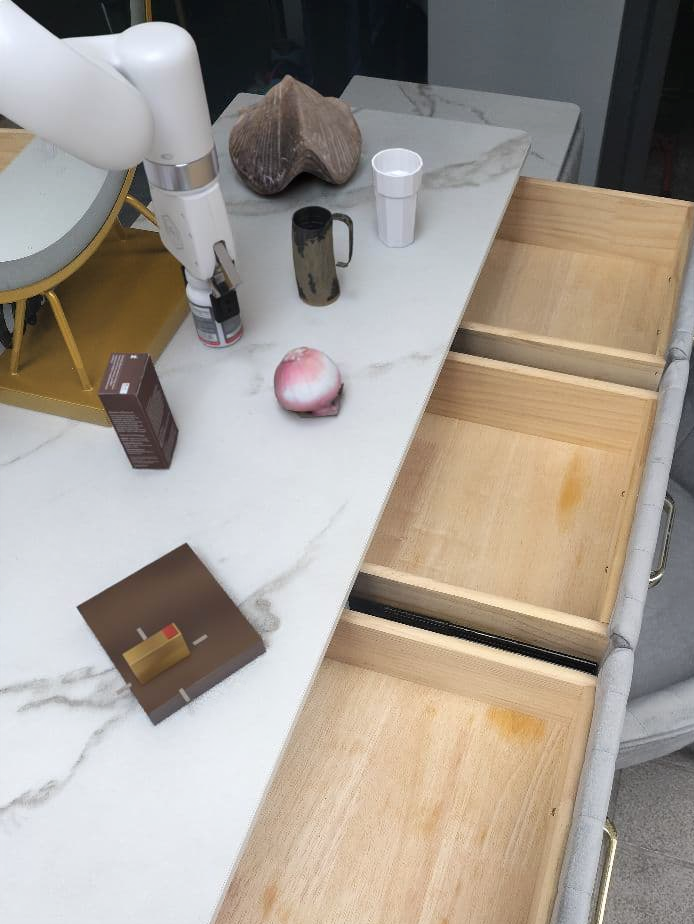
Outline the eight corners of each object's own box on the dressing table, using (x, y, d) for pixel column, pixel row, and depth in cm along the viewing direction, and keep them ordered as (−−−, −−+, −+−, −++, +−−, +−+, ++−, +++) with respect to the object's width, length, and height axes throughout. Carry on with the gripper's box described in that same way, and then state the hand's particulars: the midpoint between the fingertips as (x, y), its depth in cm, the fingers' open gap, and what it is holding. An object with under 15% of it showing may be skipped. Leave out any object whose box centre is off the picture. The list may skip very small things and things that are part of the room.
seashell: (213, 99, 119) (268, 41, 108) (305, 126, 130) (364, 76, 119) (230, 205, 119) (287, 158, 108) (321, 223, 130) (382, 181, 119)
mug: (290, 301, 107) (280, 219, 97) (306, 275, 110) (297, 193, 100) (348, 313, 105) (343, 231, 95) (361, 287, 108) (358, 205, 98)
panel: (73, 625, 79) (64, 612, 77) (191, 555, 84) (185, 540, 82) (149, 742, 72) (141, 731, 70) (272, 659, 77) (269, 646, 75)
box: (140, 430, 94) (109, 350, 84) (179, 431, 93) (153, 351, 84) (128, 470, 90) (94, 392, 80) (168, 472, 90) (140, 394, 80)
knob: (141, 685, 73) (129, 664, 69) (134, 674, 73) (121, 652, 70) (191, 654, 75) (180, 632, 71) (183, 643, 75) (172, 621, 72)
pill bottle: (237, 314, 105) (224, 248, 97) (248, 343, 102) (235, 277, 94) (193, 324, 104) (176, 258, 96) (203, 353, 101) (186, 288, 93)
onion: (317, 370, 99) (312, 324, 93) (358, 405, 96) (355, 359, 90) (264, 401, 96) (255, 355, 90) (304, 438, 93) (297, 393, 87)
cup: (413, 219, 117) (414, 145, 108) (426, 246, 113) (428, 172, 104) (368, 226, 116) (366, 152, 107) (380, 254, 112) (378, 180, 103)
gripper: (109, 138, 87) (151, 280, 101) (192, 214, 79) (224, 355, 94) (171, 116, 89) (204, 256, 104) (257, 187, 82) (279, 328, 97)
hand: (213, 302), depth 99 cm, fingers closed on pill bottle, 5 cm apart
